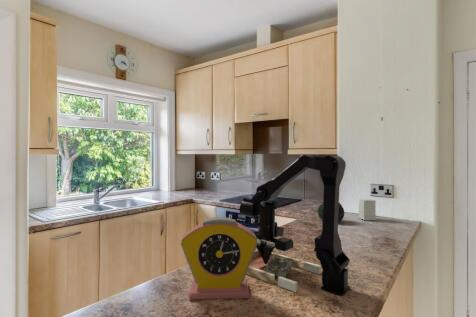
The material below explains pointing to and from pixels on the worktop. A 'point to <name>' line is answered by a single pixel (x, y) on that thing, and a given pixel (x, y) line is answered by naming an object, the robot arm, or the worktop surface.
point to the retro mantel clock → (219, 258)
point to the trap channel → (259, 263)
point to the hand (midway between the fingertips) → (266, 263)
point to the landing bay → (293, 284)
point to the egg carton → (278, 267)
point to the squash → (340, 213)
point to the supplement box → (367, 209)
